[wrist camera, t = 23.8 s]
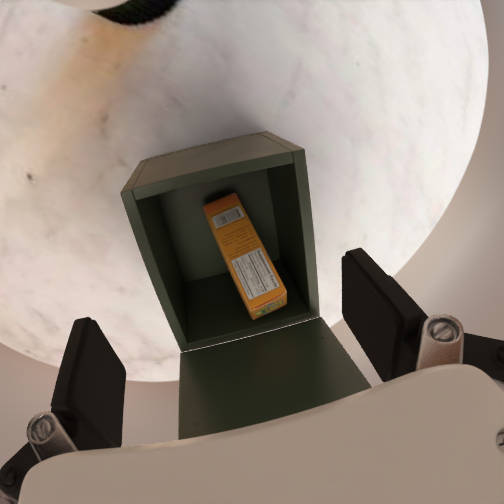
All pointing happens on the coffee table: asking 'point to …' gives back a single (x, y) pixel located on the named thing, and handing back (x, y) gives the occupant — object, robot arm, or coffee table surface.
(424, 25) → the coffee table surface
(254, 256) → the supplement box
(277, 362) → the bin lid
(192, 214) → the bin
